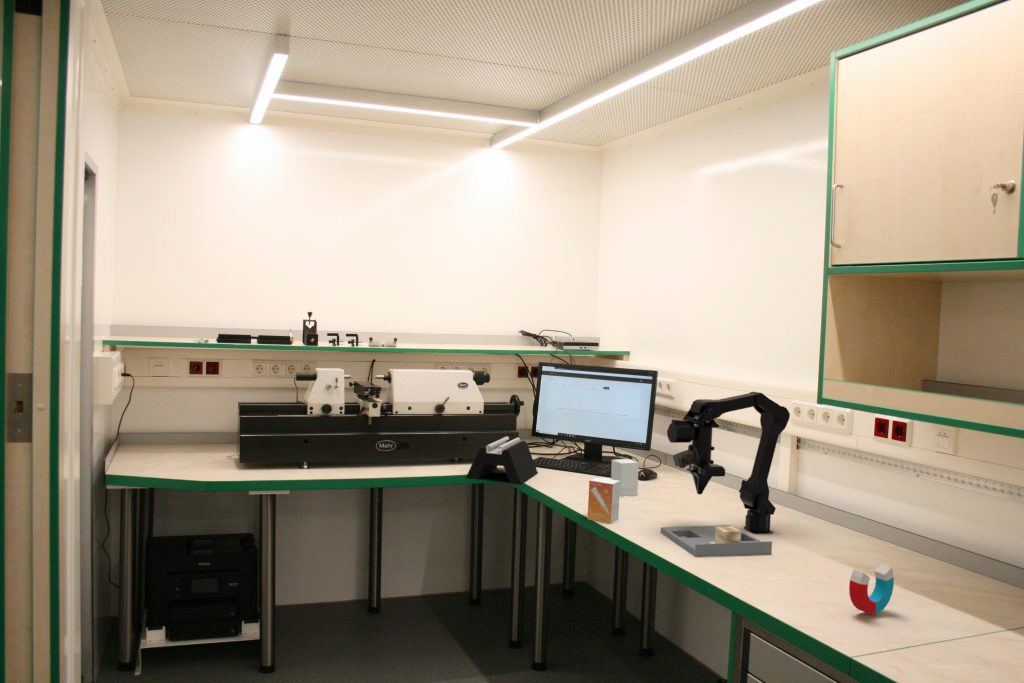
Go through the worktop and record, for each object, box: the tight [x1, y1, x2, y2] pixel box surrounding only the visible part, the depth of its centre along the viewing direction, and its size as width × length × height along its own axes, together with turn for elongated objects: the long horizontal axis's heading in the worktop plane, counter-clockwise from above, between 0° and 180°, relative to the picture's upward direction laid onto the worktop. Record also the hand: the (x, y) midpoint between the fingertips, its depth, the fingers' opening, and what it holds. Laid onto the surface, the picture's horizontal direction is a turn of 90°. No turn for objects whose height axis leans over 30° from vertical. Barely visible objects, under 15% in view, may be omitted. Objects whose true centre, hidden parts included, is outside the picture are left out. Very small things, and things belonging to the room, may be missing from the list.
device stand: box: [465, 436, 539, 486], centre depth 293 cm, size 22×22×15 cm
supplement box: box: [610, 458, 640, 498], centre depth 273 cm, size 7×7×13 cm
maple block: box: [715, 525, 742, 543], centre depth 210 cm, size 5×5×4 cm
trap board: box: [660, 524, 773, 558], centre depth 218 cm, size 22×23×4 cm
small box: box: [587, 477, 620, 525], centre depth 237 cm, size 8×6×13 cm
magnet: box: [848, 563, 895, 615], centre depth 169 cm, size 12×3×10 cm, turn 118°
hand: (699, 494), depth 227 cm, fingers closed
